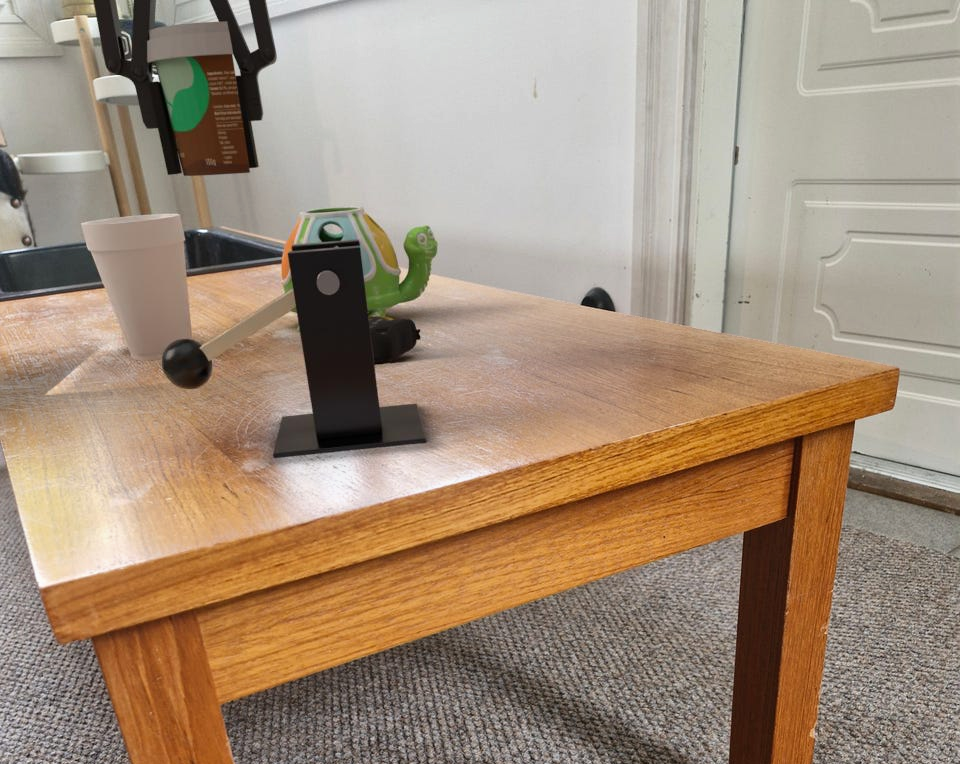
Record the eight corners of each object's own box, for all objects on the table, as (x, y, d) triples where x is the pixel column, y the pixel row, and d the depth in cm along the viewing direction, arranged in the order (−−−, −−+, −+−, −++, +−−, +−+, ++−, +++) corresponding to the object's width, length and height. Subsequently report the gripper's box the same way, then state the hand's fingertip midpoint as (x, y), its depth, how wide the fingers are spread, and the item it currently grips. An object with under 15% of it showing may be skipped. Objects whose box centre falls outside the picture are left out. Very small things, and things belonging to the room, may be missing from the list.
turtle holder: (449, 322, 100) (440, 204, 94) (285, 337, 98) (265, 218, 92) (438, 304, 111) (429, 197, 105) (290, 318, 109) (273, 209, 103)
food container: (166, 175, 80) (139, 40, 75) (236, 170, 81) (214, 38, 76) (172, 178, 69) (141, 22, 64) (252, 172, 71) (227, 20, 66)
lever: (178, 403, 59) (146, 360, 57) (186, 391, 61) (156, 350, 60) (361, 291, 57) (333, 243, 55) (360, 284, 59) (334, 238, 58)
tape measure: (391, 372, 81) (387, 329, 79) (325, 370, 83) (319, 328, 81) (422, 355, 86) (419, 314, 84) (359, 353, 89) (355, 313, 87)
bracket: (275, 471, 59) (237, 261, 52) (284, 432, 66) (251, 245, 60) (427, 455, 59) (407, 246, 53) (418, 418, 67) (400, 232, 61)
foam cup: (97, 364, 92) (60, 226, 86) (147, 344, 100) (116, 216, 94) (179, 363, 90) (147, 221, 84) (223, 343, 98) (197, 212, 91)
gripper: (-11, -208, 60) (88, 181, 71) (273, -220, 61) (325, 162, 73) (23, -174, 66) (109, 178, 78) (279, -186, 68) (326, 160, 79)
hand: (214, 170), depth 75 cm, fingers closed on food container, 6 cm apart
